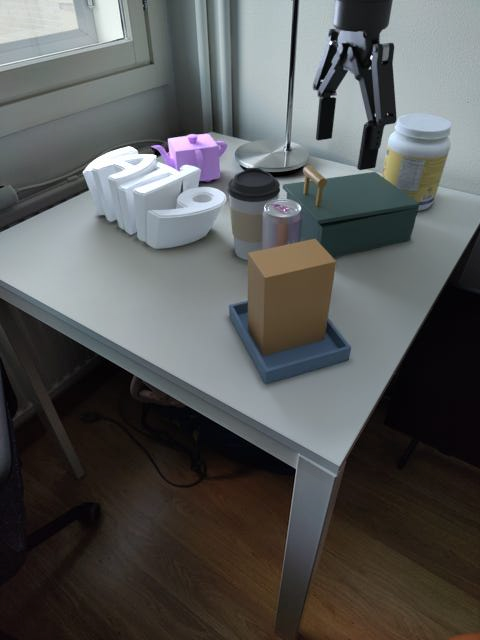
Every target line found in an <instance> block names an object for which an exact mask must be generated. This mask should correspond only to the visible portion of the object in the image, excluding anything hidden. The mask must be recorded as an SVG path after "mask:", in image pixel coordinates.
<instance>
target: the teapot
mask: <svg viewBox="0 0 480 640" xmlns="http://www.w3.org/2000/svg"><path fill="white" fill-rule="evenodd" d="M167 142H168V143H167V145H168V151H169V152H168V153H169V155H168V153H167V151H166V149H165V148H164V146H162V145H159V144H155V145H154V144H153V145H151V146H150V147H151V148H153V149H156V150H157V151H158V152H159V153H160V155H161V157H162V159H163V162H164V164H165V165H167V166H170V167H172V168H173V169H175V170H177V171H179V172H180V168H181V166H184V165H190V166H194V167H197V168H199V169H200V170H201V174H200V179H199V182H205V183H210V182H212V180H217V179H221V165H220V158H221V157H222V155H224V154H225V152H227V151H226V150H227V148H228V143H227V142H226V141H223V140H214V138H213V137H212V135H210V133H201V134H195V133H191V134H187V135H183V136H177V137H168V138H167Z"/></svg>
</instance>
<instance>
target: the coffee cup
mask: <svg viewBox="0 0 480 640" xmlns="http://www.w3.org/2000/svg"><path fill="white" fill-rule="evenodd" d="M280 185H281V184H280V181H279V180H278V179H277V178H275V177H274V176H273V174H272V173H270V172H268V171H265V170H263V169H262V168H260V167H248V168H246V169H244V170H243V171H240V172H238V173H236V174H234V176H233V178H231V179H230V180H229V181H228V183H227V193H228V194H229V195H228V196H229V212H230V213H229V214H230V215H229V216H230V222H231V233H232V235H233V243H234V253H235V255H236V256H237V257H238V258H240V259H242V260H243V261H248V253H250V252H255V251H259V250H262V231H263V212H264V207H265V205H266V204H267V203H268V202H270V201H272V200H276V199H278V194H279V195H280V191H281V189H280V188H281V187H280Z"/></svg>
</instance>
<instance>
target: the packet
mask: <svg viewBox="0 0 480 640" xmlns="http://www.w3.org/2000/svg"><path fill="white" fill-rule="evenodd" d="M335 259H336V258H335V257H332V256H331V255H330V254H329V253H328V252H327V251H326V250H325V249H324V248H323V246H322V245H321V244H320V243H319V242H318V241H317V240H316V239H311V240H306V241H302V242H301V241H300V242H297V243H292V244H288V245H283V246H278V247H273V248H269V249H264V250H259V251H255V252H250V253H248V260H247V301H248V331H249V333H250V335H251V337H252V338H253V340H254V342H255V344H256V346H257V347H258V349H259V351H260V353H261V355H262V356H266V355H270V354H273V353H277V352H280V351H284V350H288V349H291V348H295V347H299V346H302V345H306V344H310V343H313V342H317V341H320V340H324V339H325V333H326V326H327V319H328V318H329V313H330V306H331V298H332V292H333V288H334V287H333V285H334V279H335V273H336V267H337V260H335Z"/></svg>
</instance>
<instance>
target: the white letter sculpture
mask: <svg viewBox="0 0 480 640" xmlns="http://www.w3.org/2000/svg"><path fill="white" fill-rule="evenodd" d="M200 174H201V170H200V169H199V168H197V167H194V166H190V165H184V166H181V168H180V172H179V171H177V170H175V169H173V168H172V167H170V166H167V165H166V163H162V162H160V161H157V155H155V154H151V153H141V154H139V151H138V150H137V149H136V148H134V147H132V146H125V147H121V148H118V149H115V150H111V151H109V152H106V153H105V154H102V155H101V156H99V157H96V159H93V161H92V162H90V163H89V164H88V165H87V166H86V167H85V168H84V170H83V171H82V175H83V177H84V179H85V182H86V184H87V185H86V186H87V188H88V191H89V193H90V196H91V198H92V201H93V203H94V207H95V209H96V212H97V215H98V216H105V219H106V221H108V222H112V223H113V222H114V221H117V225H118V228H120V229H121V230H124V232H126V233H127V234H129V235H134V234H137V235H136V237H137V239H138V240H139V241H141V242H143V243H146V245H148V246H149V247H150V248H153V249H155V250H159V249H161V250H162V249H169V248H170V249H171V248H176V247H180V246H185V245H188V244H191V243H194V242H197V241H199V240H201V239H203V238H204V237H206V236H207V235H208V234H209V232H210V231H211V229H212V227H213V225H214V223H215V221H216V219H217V218H218V216H219V214H220V212H221V210H222V208H224V205H225V204H226V201H227V195H226V194H225V193H224V192H223V191H222V190H220V189H218V188H215V187H209V186H199V185H200V184H199V183H200V181H199V179H200Z"/></svg>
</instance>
